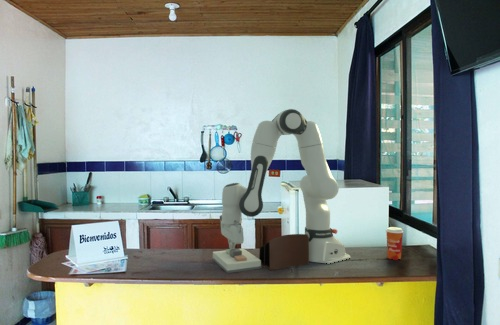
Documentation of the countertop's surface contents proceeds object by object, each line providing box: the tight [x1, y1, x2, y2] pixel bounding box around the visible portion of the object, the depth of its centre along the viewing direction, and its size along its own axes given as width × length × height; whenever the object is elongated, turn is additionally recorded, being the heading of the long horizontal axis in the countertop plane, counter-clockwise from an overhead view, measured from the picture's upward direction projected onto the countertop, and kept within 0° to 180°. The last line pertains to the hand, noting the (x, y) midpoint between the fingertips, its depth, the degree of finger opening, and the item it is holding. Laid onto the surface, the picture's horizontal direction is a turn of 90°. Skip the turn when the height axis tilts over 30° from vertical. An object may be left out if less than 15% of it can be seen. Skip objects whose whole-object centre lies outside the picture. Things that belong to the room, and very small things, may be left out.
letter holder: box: [258, 233, 310, 271], centre depth 156 cm, size 10×20×14 cm, turn 116°
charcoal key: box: [230, 248, 242, 258], centre depth 156 cm, size 4×4×3 cm
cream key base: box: [212, 248, 262, 274], centre depth 156 cm, size 15×20×4 cm
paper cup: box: [385, 226, 405, 261], centre depth 165 cm, size 8×8×14 cm
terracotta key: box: [234, 255, 247, 262], centre depth 151 cm, size 4×4×3 cm
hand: (232, 249), depth 161 cm, fingers closed
